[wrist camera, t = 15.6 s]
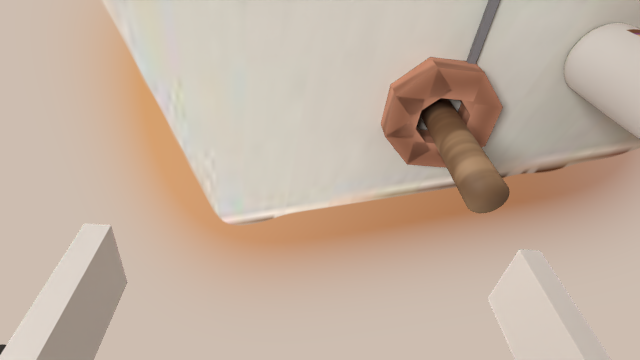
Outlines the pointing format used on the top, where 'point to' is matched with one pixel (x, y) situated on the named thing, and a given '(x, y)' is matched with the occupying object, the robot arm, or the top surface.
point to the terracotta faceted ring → (425, 89)
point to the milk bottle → (609, 72)
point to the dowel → (464, 158)
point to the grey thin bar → (482, 31)
